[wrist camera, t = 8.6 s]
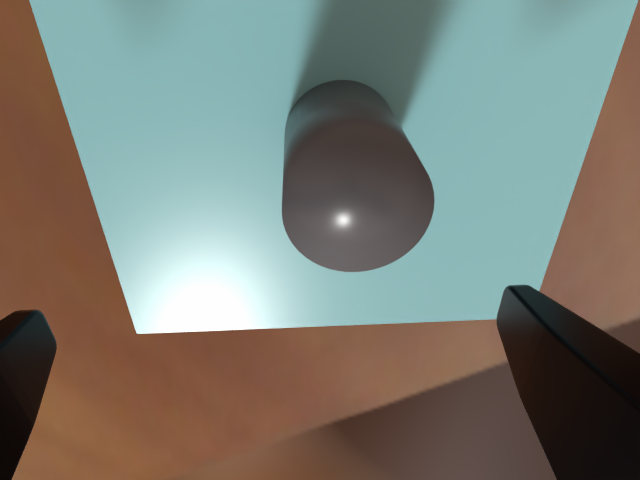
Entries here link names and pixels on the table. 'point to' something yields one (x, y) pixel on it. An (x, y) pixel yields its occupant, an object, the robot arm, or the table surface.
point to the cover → (329, 150)
